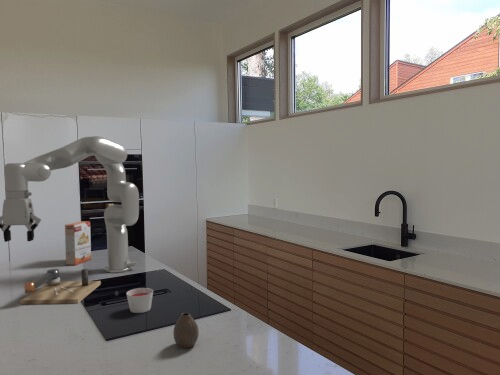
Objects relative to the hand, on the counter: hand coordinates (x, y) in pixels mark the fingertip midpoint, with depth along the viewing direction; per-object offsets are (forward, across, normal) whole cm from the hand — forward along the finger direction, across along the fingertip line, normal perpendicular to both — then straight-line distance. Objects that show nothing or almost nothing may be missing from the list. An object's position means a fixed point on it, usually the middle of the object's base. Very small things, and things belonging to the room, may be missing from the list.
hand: (19, 240), depth 152 cm
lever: (+18, -7, -2) cm, 19 cm away
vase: (+22, -70, +44) cm, 86 cm away
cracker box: (+22, +1, -56) cm, 60 cm away
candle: (+22, -50, +16) cm, 57 cm away
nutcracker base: (+22, -15, -4) cm, 27 cm away
